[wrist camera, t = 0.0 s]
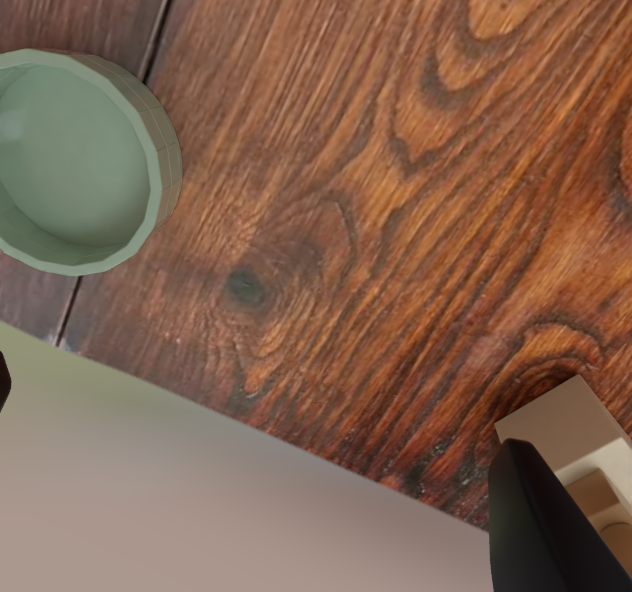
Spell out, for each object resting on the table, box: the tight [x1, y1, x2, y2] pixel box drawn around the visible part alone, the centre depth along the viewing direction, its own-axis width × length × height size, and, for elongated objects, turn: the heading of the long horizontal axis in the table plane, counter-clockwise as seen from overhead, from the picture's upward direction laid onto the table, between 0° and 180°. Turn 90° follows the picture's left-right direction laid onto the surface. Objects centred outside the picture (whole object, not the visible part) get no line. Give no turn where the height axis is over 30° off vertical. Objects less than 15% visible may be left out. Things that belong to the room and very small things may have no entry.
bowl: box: [0, 48, 183, 276], centre depth 23 cm, size 9×9×3 cm
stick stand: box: [494, 374, 632, 505], centre depth 26 cm, size 5×5×5 cm
